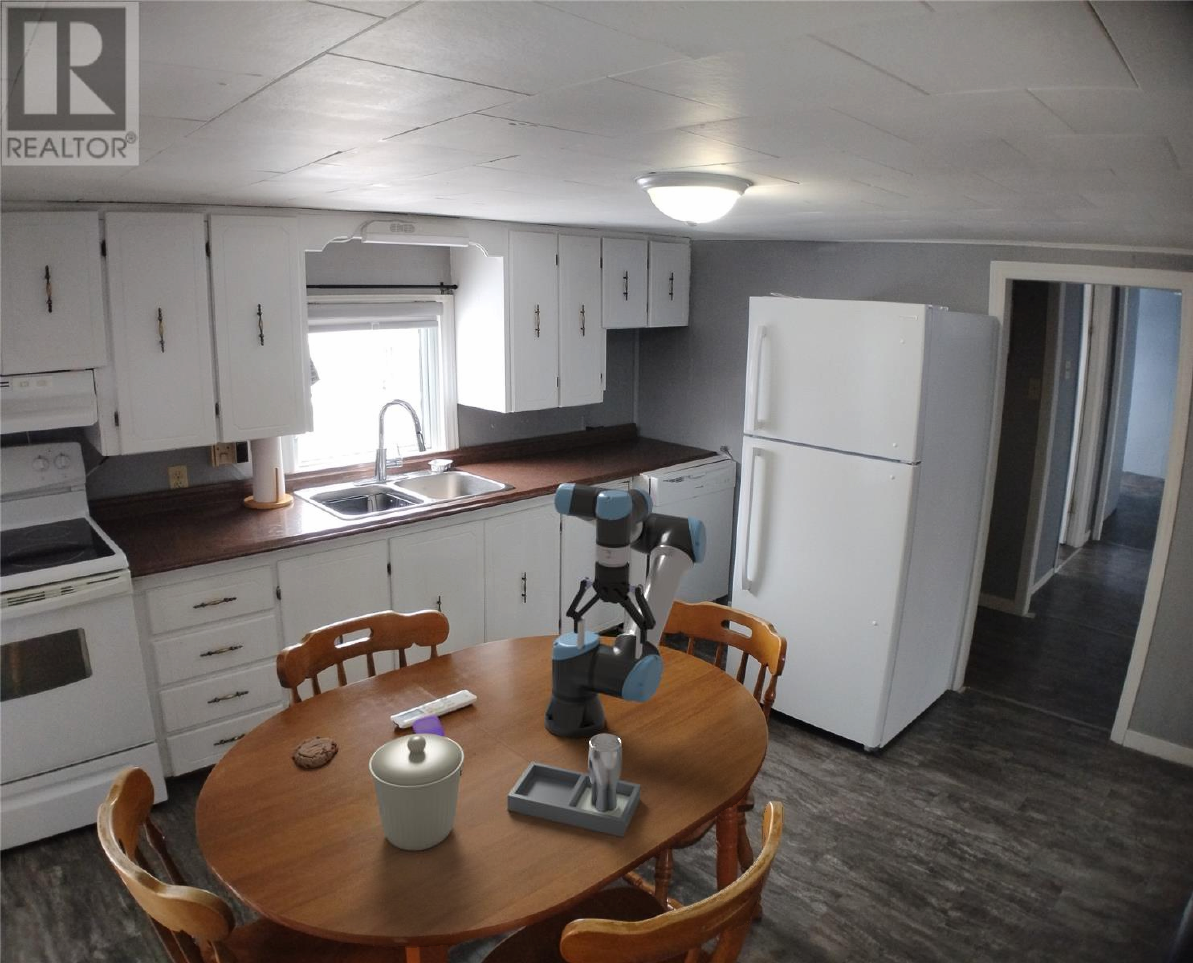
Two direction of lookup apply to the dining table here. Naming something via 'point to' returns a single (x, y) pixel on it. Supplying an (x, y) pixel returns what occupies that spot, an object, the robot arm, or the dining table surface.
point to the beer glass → (604, 772)
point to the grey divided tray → (570, 799)
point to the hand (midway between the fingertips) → (609, 651)
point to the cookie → (314, 751)
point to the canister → (417, 788)
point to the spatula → (429, 726)
